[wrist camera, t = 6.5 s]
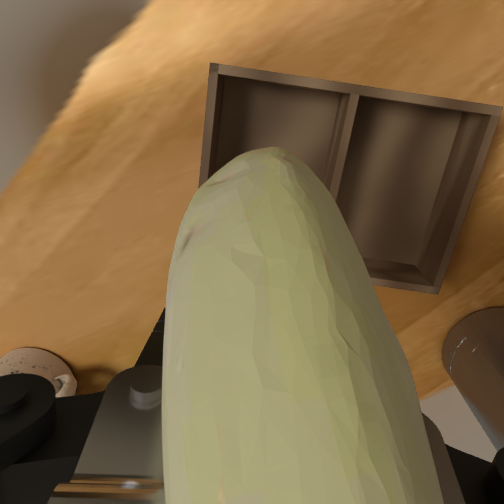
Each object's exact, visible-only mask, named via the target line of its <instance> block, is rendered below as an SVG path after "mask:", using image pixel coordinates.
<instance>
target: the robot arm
mask: <svg viewBox="0 0 504 504" xmlns="http://www.w3.org/2000/svg"><path fill="white" fill-rule="evenodd" d="M165 311H166V307H165V308H164V310H163V312H162V314H161V316H160V318H159V320H158V322H157V324H156V325H155V327H154V329H153V332H152V333H151V335H150V337H149V339H148V341H147V343H146V345H145V347H144V349H143V351H142V352H141V354H140V356H139V358H138V360H137V362H136V364H135V366H134V367H132V368H129V369H126V370H124V371H122V372H120V373H119V374H117V375H116V376H115V377H114V378H112V380H111V381H110V382H109V384H108V386H107V388H106V390H105V391H102V392H98V393H94V394H87V395H77V396H67V397H56V393H55V388H54V386H53V384H52V383H51V382H50V381H49V380H48V379H46V378H44V377H42V376H39V375H36V374H30V373H17V374H9V375H4V376H0V504H166V502H165V489H164V475H163V450H162V371H163V343H164V327H165ZM442 361H443V365H444V367H445V369H446V371H447V372H448V374H449V376H450V377H451V379H452V380H453V382H454V384H455V385H456V387H457V388H458V390H459V391H460V393H461V395H462V396H463V398H464V400H465V401H466V403H467V404H468V406H469V408H470V409H471V411H472V412H473V414H474V416H475V417H476V419H477V420H478V422H479V423H480V425H481V426H482V428H483V430H484V431H485V433H486V434H487V436H488V437H489V439H490V441H491V442H492V444H493V445H494V447H495V449H496V450H497V451H498V452H497V453H496V455H495V457H494V460H493V462H492V463H490V462H488V461H485V460H483V459H480V458H478V457H475V456H473V455H470V454H467V453H465V452H462V451H460V450H457V449H455V448H453V447H450V446H448V445H446V444H445V443H444V440H443V437H442V435H441V433H440V431H439V429H438V428H437V426H436V425H435V424H434V423H433V421H431V420H430V419H429V418H428V417H427V416H426V415H425V414H423V413H422V417H423V421H424V425H425V430H426V433H427V437H428V441H429V445H430V449H431V453H432V457H433V460H434V464H435V468H436V472H437V477H438V481H439V485H440V489H441V494H442V498H443V502H444V504H504V307H503V308H489V309H484V310H481V311H478V312H476V313H473V314H471V315H469V316H467V317H466V318H464V319H462V320H461V321H460V322H459V323H458V324H456V325H455V326H454V327H453V329H452V330H451V331H450V332H449V334H448V335H447V337H446V339H445V341H444V344H443V348H442Z"/></svg>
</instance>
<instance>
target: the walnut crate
mask: <svg viewBox="0 0 504 504" xmlns="http://www.w3.org/2000/svg"><path fill="white" fill-rule="evenodd" d="M502 110H503V107H501V106H495V105H488V104H482V103H475V102H468V101H462V100H455V99H448V98H442V97H435V96H429V95H422V94H415V93H409V92H402V91H395V90H389V89H382V88H375V87H369V86H362V85H356V84H349V83H342V82H336V81H329V80H322V79H316V78H309V77H303V76H296V75H289V74H283V73H276V72H269V71H263V70H256V69H249V68H243V67H236V66H230V65H223V64H216V63H210V69H209V79H208V90H207V101H206V112H205V123H204V134H203V145H202V156H201V167H200V177H199V188H200V187H201V186H202V185H203V184H204V183H205V182H206V181H207V180H208V179H209V178H210V177H211V176H212V175H214V174H215V173H216V172H217V171H218V170H220V169H221V168H222V167H223V166H225V165H226V164H227V163H228V162H230V161H231V160H233V159H234V158H235V157H237V156H239V155H241V154H243V153H246V152H249V151H251V150H256V149H261V148H268V147H280V148H282V149H285V150H288V151H290V152H292V153H293V154H294V155H295V156H297V157H298V158H299V159H300V160H302V161H303V162H304V163H305V164H307V166H308V167H309V168H310V169H311V170H312V171H313V172H314V174H315V175H316V176H317V177H318V178H319V179H320V181H321V182H322V183H323V184H324V185H325V187H326V188H327V189H328V191H329V192H330V194H331V195H332V197H333V199H334V201H335V202H336V204H337V206H338V208H339V210H340V212H341V214H342V216H343V218H344V221H345V223H346V225H347V227H348V229H349V231H350V233H351V235H352V237H353V239H354V242H355V244H356V246H357V248H358V251H359V253H360V255H361V257H362V259H363V261H364V264H365V266H366V269H367V271H368V274H369V276H370V279H371V281H372V284H373V285H377V286H384V287H390V288H397V289H404V290H411V291H418V292H424V293H431V294H439V291H440V288H441V285H442V282H443V279H444V276H445V274H446V271H447V268H448V265H449V262H450V259H451V256H452V254H453V251H454V248H455V245H456V242H457V239H458V236H459V233H460V231H461V228H462V225H463V222H464V219H465V216H466V213H467V210H468V208H469V205H470V202H471V199H472V196H473V193H474V190H475V187H476V185H477V182H478V179H479V176H480V173H481V170H482V167H483V165H484V162H485V159H486V156H487V153H488V150H489V147H490V144H491V142H492V139H493V136H494V133H495V130H496V127H497V124H498V121H499V119H500V116H501V113H502ZM199 188H198V189H199Z"/></svg>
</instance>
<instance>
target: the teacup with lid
mask: <svg viewBox="0 0 504 504" xmlns="http://www.w3.org/2000/svg"><path fill="white" fill-rule="evenodd" d="M17 373H30V374H36V375H39V376H42V377H44V378H46V379H48V380H49V381H50V382H51V383H52V384H53V386H54V388H55V393H56V397H67V396H75V394H76V388H77V381H76V379H75V378H74V376H73V373H72V372H71V370H70V368H69V367H68V366H67V365H66V364H65V363H64V362H63V361H62V360H61V359H60V358H58V357H57V356H55V355H54V354H52V353H50V352H48V351H45V350H42V349H37V348H19V349H15V350H12V351H10V352H8V353H7V354H5V355H4V356H3V357H2V358H1V359H0V376H4V375H9V374H17Z"/></svg>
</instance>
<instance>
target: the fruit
mask: <svg viewBox="0 0 504 504" xmlns="http://www.w3.org/2000/svg"><path fill="white" fill-rule="evenodd" d="M162 450H163V475H164V489H165V502H166V504H444V502H443V498H442V494H441V489H440V485H439V481H438V477H437V472H436V468H435V464H434V460H433V457H432V453H431V449H430V445H429V441H428V437H427V433H426V430H425V425H424V421H423V417H422V412H421V408H420V404H419V400H418V396H417V392H416V388H415V384H414V381H413V377H412V374H411V371H410V367H409V364H408V361H407V358H406V356H405V354H404V351H403V349H402V347H401V345H400V343H399V341H398V339H397V337H396V335H395V333H394V331H393V329H392V327H391V325H390V323H389V321H388V320H387V318H386V316H385V314H384V312H383V310H382V307H381V305H380V302H379V299H378V297H377V294H376V292H375V289H374V286H373V284H372V281H371V279H370V276H369V274H368V271H367V269H366V266H365V264H364V261H363V259H362V257H361V255H360V253H359V251H358V248H357V246H356V244H355V242H354V239H353V237H352V235H351V233H350V231H349V229H348V227H347V225H346V223H345V221H344V218H343V216H342V214H341V212H340V210H339V208H338V206H337V204H336V202H335V201H334V199H333V197H332V195H331V194H330V192H329V191H328V189H327V188H326V187H325V185H324V184H323V183H322V182H321V181H320V179H319V178H318V177H317V176H316V175H315V174H314V172H313V171H312V170H311V169H310V168H309V167H308V166H307V164H305V163H304V162H303V161H302V160H300V159H299V158H298V157H297V156H295V155H294V154H293V153H292V152H290V151H288V150H285V149H282V148H280V147H268V148H261V149H256V150H251V151H249V152H246V153H243V154H241V155H239V156H237V157H235V158H234V159H233V160H231V161H230V162H228V163H227V164H226V165H225V166H223V167H222V168H221V169H220V170H218V171H217V172H216V173H215V174H214V175H212V176H211V177H210V178H209V179H208V180H207V181H206V182H205V183H204V184H203V185H202V186H201V187H200V188H199V189H198V190H197V192H196V193H195V195H194V196H193V198H192V200H191V202H190V204H189V206H188V208H187V211H186V213H185V215H184V217H183V219H182V222H181V225H180V228H179V231H178V235H177V239H176V243H175V247H174V251H173V256H172V260H171V264H170V268H169V276H168V286H167V295H166V311H165V327H164V343H163V371H162Z"/></svg>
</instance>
